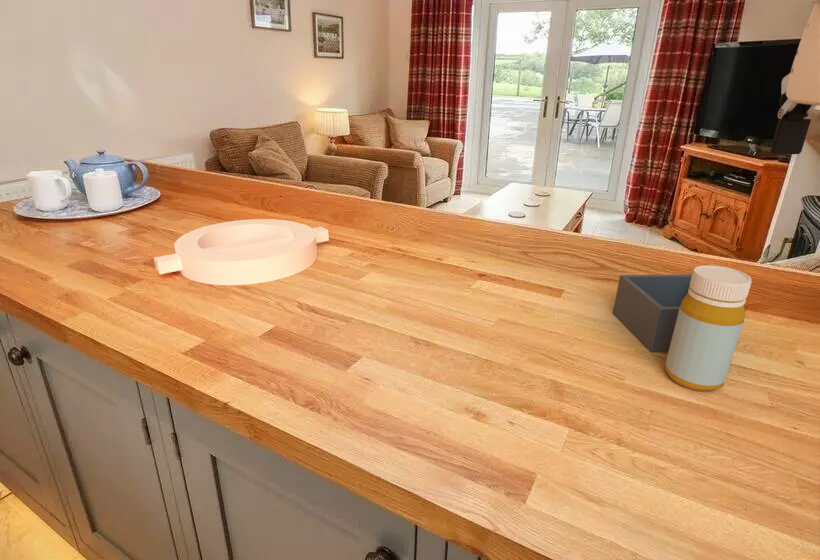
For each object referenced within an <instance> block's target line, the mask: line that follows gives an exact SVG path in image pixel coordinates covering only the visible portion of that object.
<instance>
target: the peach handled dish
mask: <svg viewBox="0 0 820 560" xmlns="http://www.w3.org/2000/svg"><path fill="white" fill-rule="evenodd" d="M329 241H330V238H329V229H328V228H325V227H323V226H317V227H313V228H312V227H310V226H309V225H307V224H304V223H301V222H297V221H293V220H286V219H275V218H274V219H273V218H253V219H252V218H250V219H249V218H248V219H240V220H239V219H238V220H230V221H223V222H217V223H213V224H209V225H206V226H205V225H204V226H201V227H199V228H196V229H193V230H191V231H188V232H187V233H184V234H183V235H181V236H179V237H178V239H176V240H175V242H174V245H173V247H174V252H175V253H171V254H165V255H161V256H155V257H153V261H154V266H155V270H156V271H157V273H158V274H159V275H163V274H170V273H174V272H179V274H180V275H182V276H183V277H184V278H186V279H187V280H191V281H193V282H197V283H200V284H206V285H213V286H247V285H248V286H249V285H256V284H263V283H269V282H274V281H278V280H282V279H285V278H289V277H292V276H294V275H297V274H299V273H301V272H304V271H306V270H307V269H308V268H310V267H311V266H313V264H315V263H316V261H317V259H318V250H317V249H318V247H317V244H320V243H324V242H329Z"/></svg>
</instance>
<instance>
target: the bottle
mask: <svg viewBox="0 0 820 560" xmlns="http://www.w3.org/2000/svg"><path fill="white" fill-rule="evenodd" d="M691 273H692V277H691V281H690V286H689V290H688V294H687V295H686V296H685V298H684V299H683V300H682V302H681V305H680V308H679V312H678V316H677V320H676V324H675V328H674V332H673V336H672V340H671V344H670V348H669V352H667V356H666V359H665V360H666V361H665V365H664V369H665V372H666V374H667V375H668V377H669V378H670V379H671V380H672V381H673V382H674V383H675V384H677V385H679V386H681V387H683V388H686V389H689V390H691V391H696V392H705V393H708V392H714V391H716V390H719V389H721V388H722V387H724V384H725V382H726V379H727V376H728V374H729V370H730V368H731V367H730V366H731V364H732V360H733V357H734V355H735V351H736V348H737V344H738V341H739V339H740V335H741V332H742V329H743V325H744V322H745V318H746V311H745V309H744V307H745V304H746V302H747V298H748V295H749V293H750V289H751V286H752V281H753V280H752V277H751V276H750V275H748V274H747V273H745V272H743V271H740V270H737V269H734V268H731V267H727V266H720V265H711V264H705V265H704V264H703V265H698V266H696V267H694V269H693V270H692V272H691Z"/></svg>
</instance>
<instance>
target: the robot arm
mask: <svg viewBox="0 0 820 560" xmlns="http://www.w3.org/2000/svg"><path fill="white" fill-rule="evenodd" d="M812 3H813V4H814V6H813V8H812V10H811V13H810V14H809V18H808V20H807V23H806V26H805V28H804V30H803V33H802V36H801V39H800V41H799V45H798V48H797V50H796V54H795V56H794V59H793V62H792V65H791V69H790V72H789V73H788V74H787V75H785V76H784V77H783V78H782V80H781V83H780V84H781V85H780V86H781V87H780V88H781V90H780V92H781V95H780V97H779V99H778V101H779V107H780V108H779V110H778V111H777V118H778V121H777V125H776V127H775V131H774V135H773V138H772V142H771V147H770V149H769V151H770V153H771V154H773V155H800V154H801V153H802V150H803V148H804V146H805V141H806V138H807V134H808V131H809V128H810V124H811V122H812V119H811V118H808V117H809V116H810V114H811V113H812V112H813V111H814V110H815V109H816V108H817V106H820V0H812Z"/></svg>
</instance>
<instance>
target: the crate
mask: <svg viewBox="0 0 820 560" xmlns="http://www.w3.org/2000/svg"><path fill="white" fill-rule="evenodd" d="M691 277H692V274H691V273H690V274H689V273H688V274H687V273H686V274H679V273H677V274H620V275H619V277H618V284H617V289H616V293H615V298H614V305H613V309H612V314H613V315H614V316H615V317H616V319H618V320H619V321H620V323H622V324H623V325H624V326H625V328H626V329H627V330H628V331H630V332H631V334H633V336H634V337H635V338H636V339H637V340H638V341H639V342H640V343H641V344H642V345H643V346H644V347H645V348H646V349H647V350H648V351H649V352H650V353H668V352H669V348H670V344H671V340H672V336H673V332H674V328H675V324H676V320H677V316H678V312H679V308H680V305H681V302H682V300H683V299H684V298H685V296H686V295H687V294H688V290H689V286H690V281H691ZM744 309H745V312H746V311H747V307H746V306H744Z"/></svg>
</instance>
